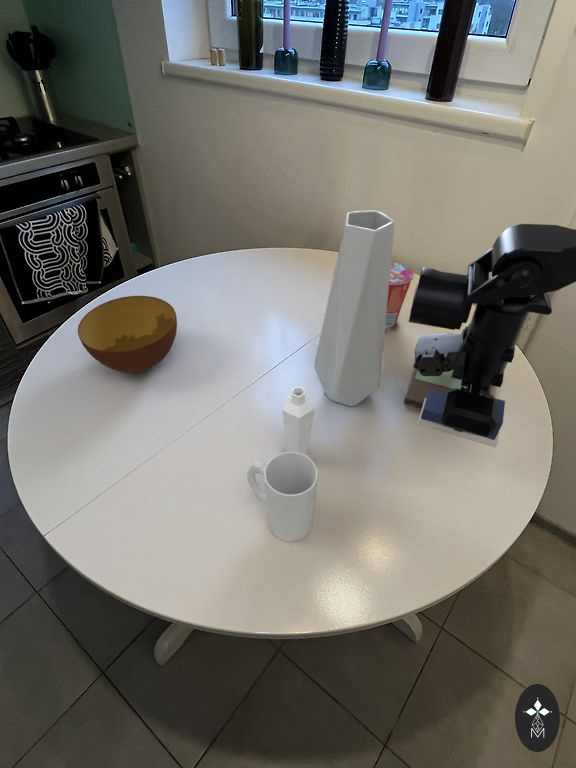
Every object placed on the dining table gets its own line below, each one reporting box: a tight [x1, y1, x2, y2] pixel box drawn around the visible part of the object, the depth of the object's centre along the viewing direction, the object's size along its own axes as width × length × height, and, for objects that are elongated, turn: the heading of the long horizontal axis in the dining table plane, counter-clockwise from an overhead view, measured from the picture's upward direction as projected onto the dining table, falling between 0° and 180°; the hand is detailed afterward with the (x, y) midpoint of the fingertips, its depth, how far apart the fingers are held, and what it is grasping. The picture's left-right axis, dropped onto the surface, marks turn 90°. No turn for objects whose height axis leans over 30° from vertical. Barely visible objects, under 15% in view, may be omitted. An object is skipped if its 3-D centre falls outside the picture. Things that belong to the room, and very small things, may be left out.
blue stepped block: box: [417, 388, 506, 448], centre depth 65 cm, size 11×5×5 cm, turn 67°
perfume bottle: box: [281, 386, 315, 457], centre depth 68 cm, size 5×4×15 cm
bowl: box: [77, 295, 178, 374], centre depth 87 cm, size 18×18×10 cm
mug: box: [246, 451, 319, 543], centre depth 61 cm, size 10×7×12 cm, turn 62°
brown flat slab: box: [403, 368, 493, 409], centre depth 86 cm, size 14×18×1 cm
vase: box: [313, 209, 395, 407], centre depth 73 cm, size 12×12×33 cm
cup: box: [385, 262, 415, 329], centre depth 96 cm, size 9×8×12 cm
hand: (460, 418), depth 66 cm, fingers closed on blue stepped block, 4 cm apart
